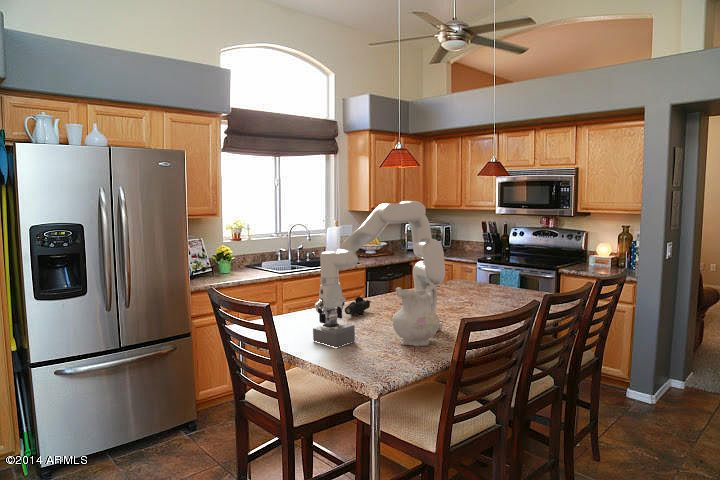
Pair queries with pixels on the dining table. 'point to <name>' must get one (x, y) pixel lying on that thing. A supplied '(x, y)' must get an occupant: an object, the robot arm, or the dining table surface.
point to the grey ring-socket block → (334, 334)
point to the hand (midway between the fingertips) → (331, 320)
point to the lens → (331, 317)
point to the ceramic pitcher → (416, 316)
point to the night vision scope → (357, 306)
